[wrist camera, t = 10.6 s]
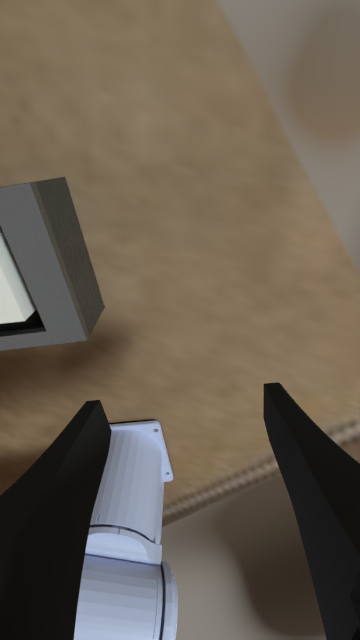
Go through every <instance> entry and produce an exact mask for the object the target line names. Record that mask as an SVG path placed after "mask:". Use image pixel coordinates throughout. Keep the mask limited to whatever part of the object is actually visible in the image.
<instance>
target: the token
mask: <svg viewBox="0 0 360 640" xmlns="http://www.w3.org/2000/svg"><path fill="white" fill-rule="evenodd" d="M36 309H37V308H36V306H35V303H34V301H33V299H32V297H31V294H30V292H29V290H28V287H27V285H26V283H25V281H24V278H23V276H22V274H21V271H20V269H19V267H18V265H17V262H16V260H15V258H14V255H13V253H12V251H11V249H10V246H9V244H8V242H7V239H6V237H5V235H4V233H3V230H2V228H1V226H0V324H3V323H12V322H21V321H26V319H27V318H28V317H29V316H30V315H31V314H32V313H33V312H34V311H35V310H36Z"/></svg>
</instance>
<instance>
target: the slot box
mask: <svg viewBox="0 0 360 640" xmlns="http://www.w3.org/2000/svg"><path fill="white" fill-rule="evenodd" d="M0 226H1V228H2V230H3V233H4V235H5V237H6V239H7V242H8V244H9V246H10V249H11V251H12V253H13V255H14V258H15V260H16V262H17V265H18V267H19V269H20V271H21V274H22V276H23V278H24V281H25V283H26V285H27V287H28V290H29V292H30V294H31V297H32V299H33V301H34V303H35V306H36V308H37V310H35V311H34V312H33V313H32V314H31V315H30V316H29V317H28V318H27V319H26V321H21V322H12V323H3V324H0V351H3V350H11V349H20V348H29V347H37V346H46V345H55V344H63V343H72V342H81V341H87V340H88V338H89V336H90V334H91V332H92V330H93V328H94V326H95V324H96V323H97V321H98V319H99V317H100V315H101V313H102V311H103V309H104V304H103V300H102V297H101V294H100V290H99V287H98V284H97V281H96V277H95V274H94V271H93V268H92V264H91V261H90V258H89V254H88V251H87V248H86V245H85V241H84V238H83V235H82V231H81V228H80V225H79V222H78V218H77V215H76V212H75V208H74V205H73V202H72V199H71V195H70V192H69V189H68V186H67V182H66V179H65V177H61V178H55V179H49V180H43V181H37V182H31V183H24V184H18V185H12V186H6V187H0Z"/></svg>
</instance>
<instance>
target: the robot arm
mask: <svg viewBox="0 0 360 640" xmlns="http://www.w3.org/2000/svg"><path fill="white" fill-rule="evenodd" d="M264 421H265V425H266V429H267V433H268V437H269V441H270V444H271V447H272V449H273V452H274V455H275V458H276V460H277V463H278V466H279V468H280V471H281V474H282V477H283V479H284V482H285V485H286V487H287V490H288V492H289V496H290V499H291V502H292V505H293V508H294V511H295V516H296V519H297V523H298V526H299V530H300V534H301V537H302V542H303V545H304V549H305V553H306V557H307V561H308V564H309V568H310V572H311V576H312V580H313V584H314V588H315V592H316V596H317V601H318V604H319V609H320V613H321V617H322V622H323V625H324V630H325V634H326V639H327V640H360V463H358V462H357V461H356V460H355V459H353V458H352V457H351V456H350V455H349V454H347V453H346V452H345V451H344V450H343V449H342V448H340V447H339V446H338V445H337V444H336V443H335V442H334V441H333V440H332V439H331V438H330V437H328V436H327V435H326V434H325V433H324V432H323V431H322V430H321V429H320V428H319V427H318V426H317V425H316V424H315V423H314V422H313V421H312V420H311V419H310V418H309V416H308V415H307V414H306V413H305V412H304V411H303V410H302V409H301V408H300V407H299V406H298V404H297V403H296V402H295V401H294V400H293V399H292V397H291V396H290V395H289V394H288V393H287V391H286V390H285V389H284V388H283V386H282V385H281V384H280V383H268V384H264ZM172 480H173V473H172V469H171V466H170V462H169V458H168V454H167V450H166V446H165V442H164V438H163V434H162V430H161V426H160V423H159V422H158V421H144V422H133V423H122V424H111V425H109V423H108V420H107V417H106V415H105V412H104V409H103V407H102V404H101V402H100V400H94V401H87V402H86V403H85V404H84V405H83V406H82V408H81V409H80V410H79V411H78V412H77V414H76V415H75V416H74V417H73V419H72V420H71V421H70V422H69V424H68V425H67V426H66V427H65V429H64V430H63V431H62V432H61V433H60V435H59V436H58V437H57V438H56V439H55V441H54V442H53V443H52V444H51V445H50V446H49V448H48V449H47V450H46V451H45V452H44V453H43V454H42V455H41V457H40V458H39V459H38V460H37V461H36V462H35V463H34V464H33V465H32V466H31V467H30V468H29V469H28V470H27V471H26V472H25V473H24V474H23V475H22V476H21V477H20V478H19V479H18V480H17V481H16V482H15V483H14V484H13V485H12V486H11V487H10V488H9V489H8V490H6V491H5V492H4V493H3V494H2V495H1V496H0V640H175V639H176V630H177V614H178V600H177V599H178V598H177V586H176V580H175V577H174V574H173V573H172V571H171V567H170V565H169V564H168V563H167V562H166V561H161V554H162V545H159V544H160V538H161V527H162V510H163V493H164V482H167V481H172Z"/></svg>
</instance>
